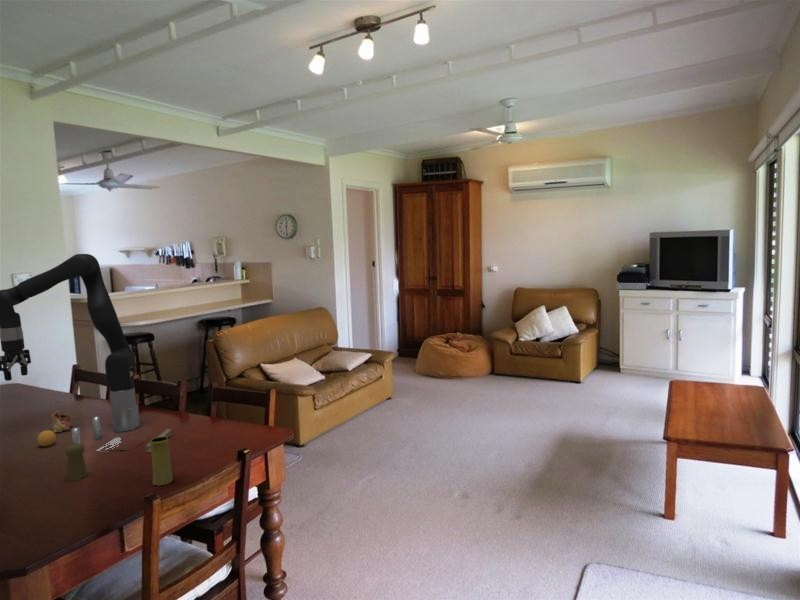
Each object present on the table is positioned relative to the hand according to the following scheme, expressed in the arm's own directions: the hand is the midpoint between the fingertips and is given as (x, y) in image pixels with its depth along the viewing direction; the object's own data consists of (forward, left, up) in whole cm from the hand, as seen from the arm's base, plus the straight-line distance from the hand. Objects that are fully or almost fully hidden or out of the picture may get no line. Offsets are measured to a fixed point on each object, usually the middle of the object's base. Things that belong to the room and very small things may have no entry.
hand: (16, 377), depth 214 cm
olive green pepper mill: (-48, +41, -25) cm, 68 cm away
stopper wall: (-62, +12, -24) cm, 68 cm away
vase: (-79, +46, -25) cm, 95 cm away
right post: (-34, +5, -24) cm, 42 cm away
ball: (-18, +12, -21) cm, 30 cm away
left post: (-34, +18, -24) cm, 46 cm away
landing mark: (-48, +12, -24) cm, 55 cm away
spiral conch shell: (-12, -6, -25) cm, 28 cm away
